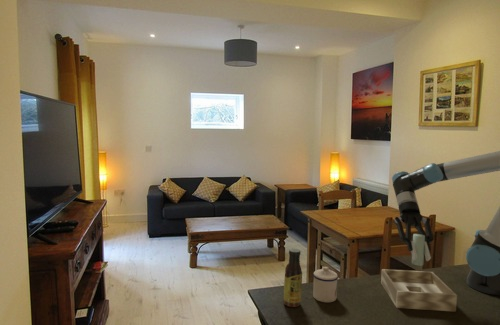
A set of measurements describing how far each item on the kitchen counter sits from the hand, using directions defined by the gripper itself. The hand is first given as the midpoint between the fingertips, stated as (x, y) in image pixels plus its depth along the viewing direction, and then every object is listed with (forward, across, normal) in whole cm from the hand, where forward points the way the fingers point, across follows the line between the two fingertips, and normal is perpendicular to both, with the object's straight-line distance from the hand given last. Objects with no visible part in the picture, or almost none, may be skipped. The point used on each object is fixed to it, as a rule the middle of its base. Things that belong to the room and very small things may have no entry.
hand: (421, 259), depth 125 cm
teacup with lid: (+11, +35, -11) cm, 39 cm away
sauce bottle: (+17, +47, -6) cm, 50 cm away
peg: (0, 0, -5) cm, 5 cm away
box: (+9, 0, -14) cm, 17 cm away
